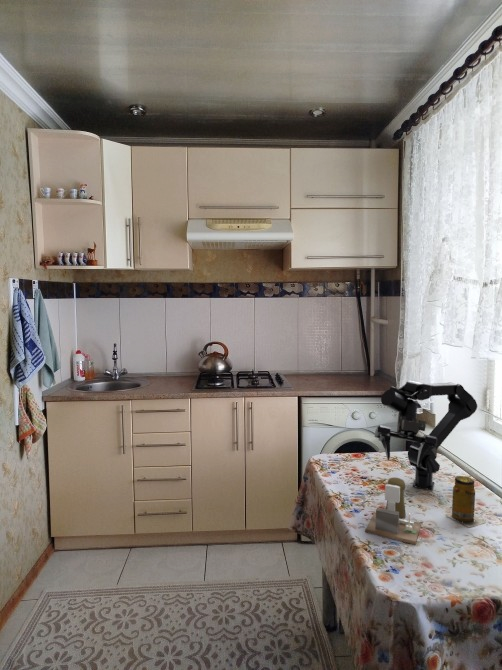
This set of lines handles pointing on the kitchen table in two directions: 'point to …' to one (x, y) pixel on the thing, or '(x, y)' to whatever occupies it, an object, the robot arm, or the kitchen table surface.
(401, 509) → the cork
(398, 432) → the robot arm
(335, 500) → the kitchen table surface
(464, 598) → the kitchen table surface
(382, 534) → the board
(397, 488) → the block
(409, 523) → the pointer
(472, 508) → the condiment
